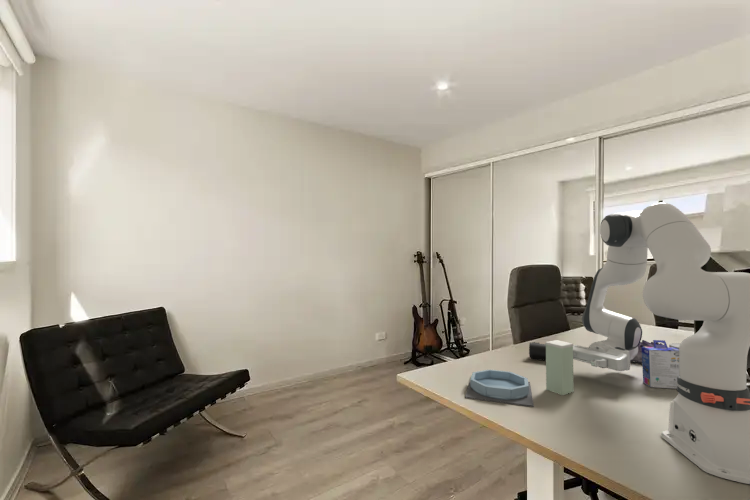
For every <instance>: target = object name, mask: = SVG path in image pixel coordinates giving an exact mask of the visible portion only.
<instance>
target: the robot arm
mask: <svg viewBox="0 0 750 500" xmlns="http://www.w3.org/2000/svg"><path fill="white" fill-rule="evenodd" d="M599 233H600V237H601V240H602V242H603V243H604V244H605V245H607V246H608V247H607V253H606V263H605V265H604V266H603V267H600V268H599V269H598V270H597V271H596V272H595V275H594V277H593V281H592V283H591V287H590V291H589V295H588V299H587V303H586V306H585V309H584V311H583V313H582V316H581V323H582V325H583V327H584V328H585V330H586V331H588V332H590V333H593V334H597V335H600V336H602V337H603V336H604V337H605V338H606V339H604V340H599V341H593V342H592V343H591V344H589V346H588V347H587V346H583V345H578V344H573V361H578V362H582V363H586V364H590V365H591V367H596V368H597V367H598V368H601V369H608V370H613V371H617V372H624V371H630V369H631V361H630V360H632V359H633V358H634V357H635V356H636V355H637V353H638V345H639V344H640V342H642V339H643V329H642V326H641V323H640V322H639V320H638V319H636V318H634V317H631V316H628V315H626V314H622V313H618V312H615V311H612V310H610V309H607V308H606V307H605V305H604V303H605V300H606V296H607V293H608V290H609V288H610V287H615V286H626V285H630V284H633V283H637V282H639V281H640V280H641V279H643V277H644V276H645V274H646V272H647V267H648V266H647V264H648V250H649V252H650V254H651V257H652V258H653V260H654V262H655V265H656V271H655V274H654V275H652V276H650V277H649V278H648V280H647V281H646V282H645V283H644V286H643V289H642V299H643V302H644V305H645V306H646V308H647V309H648V310H649V311H650V312H651V313H652V314H653V315H654V316H658V317H663V318H667V319H672V320H673V319H674V320H679V321H703V323H702V326H701V327H700V328H699V330H698V331H697V332H695V333H694V334H692V335H690V336H687V337H686V338H684V339H682V341H681V342H680V343H681V344H680V346H679V375H678V376H677V381H676V384H677V389H676V392H677V395H676V396H675V398H673V399H672V400H671V401H670V403H669V410H668V411H669V415H668V429H667V430H663V431H661V433H660V434H661V435H660V436H661V438H662V439H663V440H665V441H666V442H667V443H668V444H670V445H671V446H672V447H674V448H675V449H676V450H677V451H679V453H681V454H682V455H683V456H685V457H686V458H687V459H688V460H689V461H691V462H692V463H694V464H695V465H696V466H698V468H699V469H700V470H702V471H704V472H705V473H707V474H710V475H712V476H715V477H718V478H722V479H726V480H728V481H734V482H738V483H741V484H748V485H750V388H749V387H748V386H747V368H748V365H747V364H748V354H749V350H750V273H749V272H743V271H742V272H741V271H740V272H739V271H737V272H735V271H728V272H727V271H717V272H716V271H706V270H704V269H702V267H703V266H704V265H706V264H707V263H708V261H709V260H710V257H711V254H712V248H711V246H710V244H709V242H708V241H707V240H706V239H705V237H704V236H703V235H702V233H701V232H700V231H699V229H698V228H697V227H696V225H695V224H694V223H693V222H692V221H691V219H690V218H689V217H688V216H687V215H686V214H685V213H684V212H683V211H682V210H680V209H679V208H677V207H676V206H675V205H673V204H671V203H668V202H656V203H653V204H650V205H648V206H646V207H645V208H644V209H643V210H642V209H641V210H631V211H625V212H615V213H611V214H607V215H605V216H604V217H603V219H602V220H601V223H600V226H599Z"/></svg>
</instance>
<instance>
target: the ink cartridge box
mask: <svg viewBox="0 0 750 500" xmlns="http://www.w3.org/2000/svg"><path fill="white" fill-rule="evenodd" d="M652 342H653V343H654V347H642V364H641V368H642V383H643V384H645V385H647V387H648V388H659V389H662V388H663V389H672V390H673V389H676V390H677V384H676V381H677V376H678V375H679V349H677V348H674V347H669V346H668V345H667V344H668V343H667V342H666V340H664V339H663V340H661V339H660V340H659V339H658V340H657V339H653V340H652ZM656 343H662V344H663V345H657V344H656Z"/></svg>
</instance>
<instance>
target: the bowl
mask: <svg viewBox="0 0 750 500" xmlns="http://www.w3.org/2000/svg"><path fill="white" fill-rule="evenodd" d="M471 373H472V375H470V376H471V377H470V379H471V388H472V389H473V390H474V391H475V392H476V393H478V394H480V395H483V396H486V397H490V398H494V399H502V400H515V399H521V398H524V397H526V396H527V395H528V394H529V385H528V382H529V379H528V377H525V376H523V375H520V374H518V373H515V372H513V371H508V370H498V369H497V370H496V369H484V370H477V371H473V372H471Z"/></svg>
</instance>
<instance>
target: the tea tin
mask: <svg viewBox="0 0 750 500" xmlns="http://www.w3.org/2000/svg"><path fill="white" fill-rule="evenodd" d="M544 344H545V345H546V361H545V381H546V382H545V387H546V391H550V392H553V393H554V394H557V393H558V395H560V396H564V395H565V396H566V395H568V393H569V394H572V393H574V359H573V345H574V343H571V342H568V341H563V340H558V339H554V340H550V341H545V343H544ZM571 392H572V393H571Z"/></svg>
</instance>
